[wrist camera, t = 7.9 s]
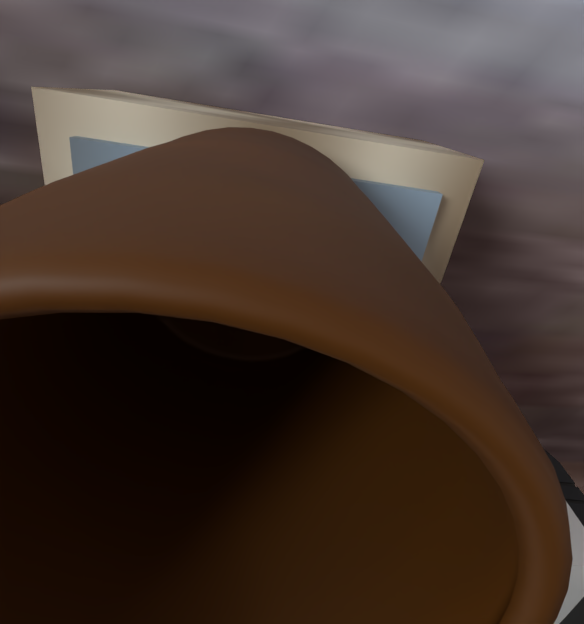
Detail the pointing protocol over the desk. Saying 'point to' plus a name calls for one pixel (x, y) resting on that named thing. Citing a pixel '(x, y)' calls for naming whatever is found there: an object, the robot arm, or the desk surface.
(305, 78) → the desk surface
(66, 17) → the desk surface
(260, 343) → the mug
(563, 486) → the robot arm
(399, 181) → the plinth
